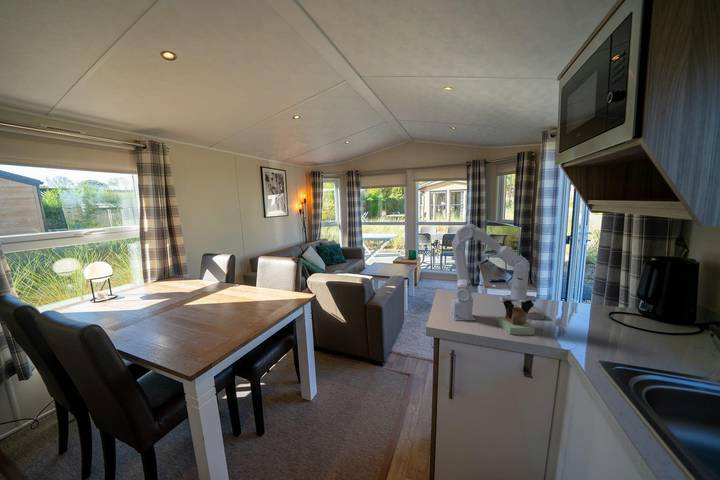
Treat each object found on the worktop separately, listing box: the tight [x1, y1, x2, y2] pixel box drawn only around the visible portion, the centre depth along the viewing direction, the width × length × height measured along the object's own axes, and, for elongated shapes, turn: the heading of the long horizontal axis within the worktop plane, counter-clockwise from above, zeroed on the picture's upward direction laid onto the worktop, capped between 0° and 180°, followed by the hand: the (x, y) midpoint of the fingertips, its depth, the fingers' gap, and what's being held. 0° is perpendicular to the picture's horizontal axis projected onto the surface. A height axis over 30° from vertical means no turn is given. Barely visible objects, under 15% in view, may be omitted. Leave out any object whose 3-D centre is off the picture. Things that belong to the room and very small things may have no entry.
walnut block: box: [504, 307, 527, 324], centre depth 112 cm, size 6×6×5 cm
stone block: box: [514, 303, 545, 321], centre depth 126 cm, size 12×5×10 cm
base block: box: [497, 316, 536, 336], centre depth 112 cm, size 10×10×3 cm
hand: (516, 317), depth 112 cm, fingers closed on walnut block, 5 cm apart
